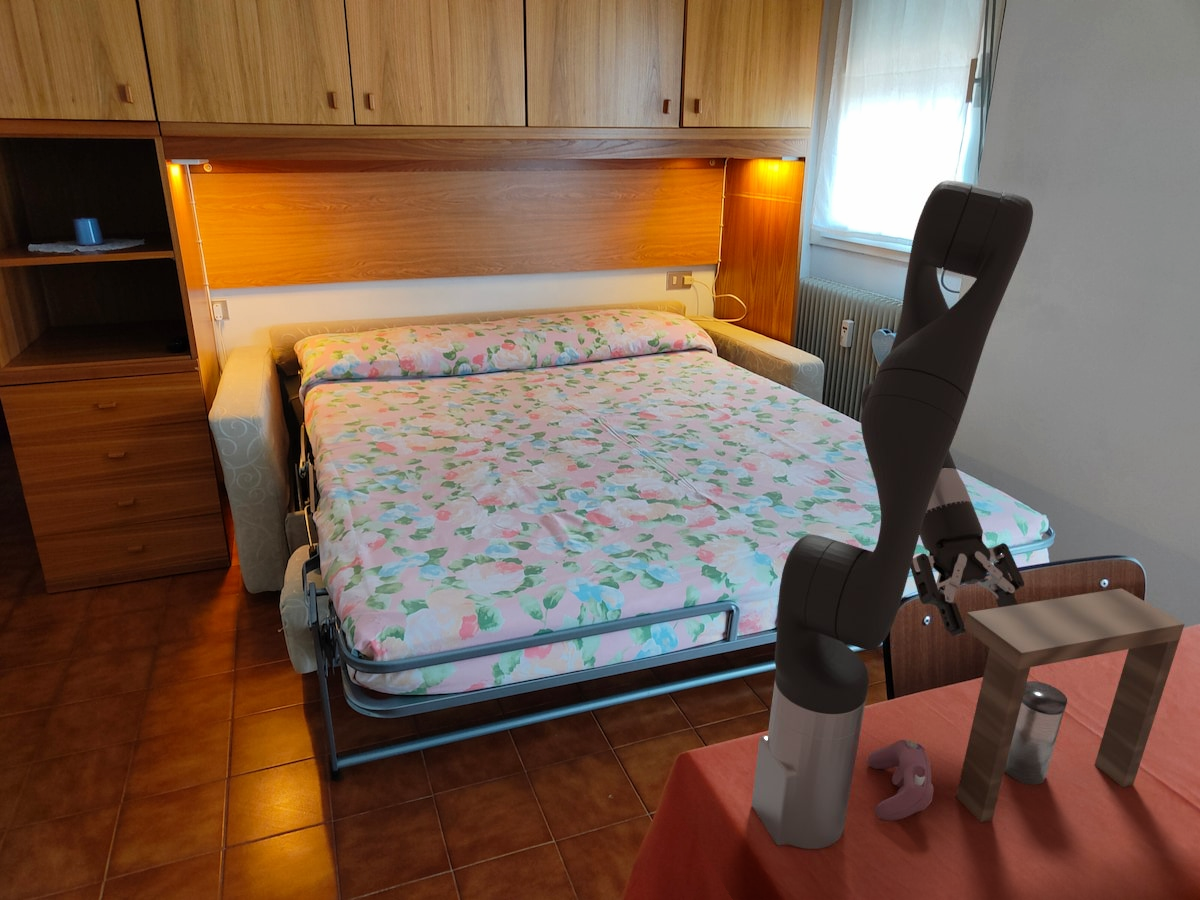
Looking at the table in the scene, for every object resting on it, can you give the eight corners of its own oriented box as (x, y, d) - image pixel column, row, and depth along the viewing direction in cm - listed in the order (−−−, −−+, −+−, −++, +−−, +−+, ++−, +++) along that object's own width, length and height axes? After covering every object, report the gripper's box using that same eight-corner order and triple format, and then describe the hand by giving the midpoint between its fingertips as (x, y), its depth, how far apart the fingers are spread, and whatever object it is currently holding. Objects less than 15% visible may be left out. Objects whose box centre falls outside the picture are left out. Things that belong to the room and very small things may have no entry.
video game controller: (907, 839, 90) (947, 798, 88) (871, 818, 90) (910, 777, 88) (895, 776, 99) (931, 738, 97) (862, 757, 100) (897, 718, 97)
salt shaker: (1022, 788, 96) (1043, 710, 92) (991, 760, 100) (1010, 684, 97) (1055, 780, 97) (1077, 703, 94) (1024, 753, 102) (1043, 678, 98)
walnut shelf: (980, 822, 91) (1021, 652, 83) (933, 772, 98) (967, 612, 90) (1133, 784, 97) (1184, 623, 90) (1078, 740, 104) (1121, 588, 97)
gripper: (912, 504, 104) (958, 630, 98) (1004, 494, 108) (1053, 615, 102) (881, 524, 110) (922, 644, 104) (968, 514, 115) (1013, 629, 108)
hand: (987, 629), depth 103 cm, fingers open, 8 cm apart
